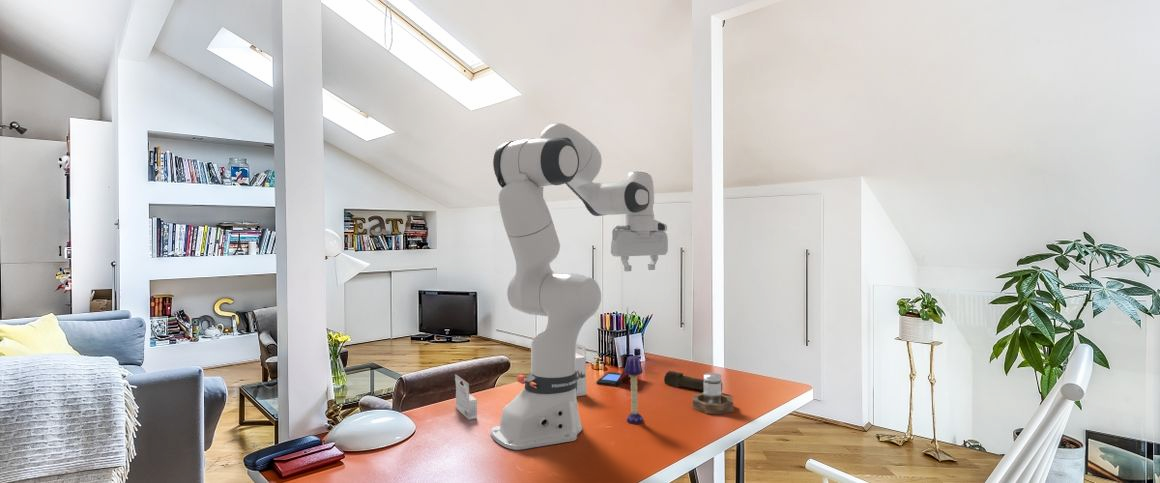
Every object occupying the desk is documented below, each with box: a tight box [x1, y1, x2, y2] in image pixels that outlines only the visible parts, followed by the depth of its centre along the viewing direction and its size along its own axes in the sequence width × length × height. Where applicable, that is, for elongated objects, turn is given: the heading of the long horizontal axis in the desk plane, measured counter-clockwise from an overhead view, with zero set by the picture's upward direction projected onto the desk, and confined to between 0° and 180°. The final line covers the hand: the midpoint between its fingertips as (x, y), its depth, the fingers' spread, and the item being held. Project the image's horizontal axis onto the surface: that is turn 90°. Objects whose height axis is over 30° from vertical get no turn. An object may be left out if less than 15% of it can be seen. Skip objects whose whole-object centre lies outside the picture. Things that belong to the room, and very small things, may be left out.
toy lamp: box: [624, 355, 644, 425], centre depth 135 cm, size 5×5×17 cm
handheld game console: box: [596, 368, 630, 388], centre depth 171 cm, size 12×11×7 cm
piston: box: [702, 372, 722, 404], centre depth 145 cm, size 5×5×9 cm
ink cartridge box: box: [454, 373, 478, 421], centre depth 141 cm, size 2×11×10 cm, turn 32°
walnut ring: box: [692, 391, 734, 415], centre depth 145 cm, size 11×11×2 cm
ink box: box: [575, 342, 587, 398], centre depth 159 cm, size 8×5×15 cm, turn 26°
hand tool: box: [663, 370, 723, 393], centre depth 163 cm, size 19×4×5 cm, turn 51°
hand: (639, 270), depth 160 cm, fingers open, 8 cm apart
